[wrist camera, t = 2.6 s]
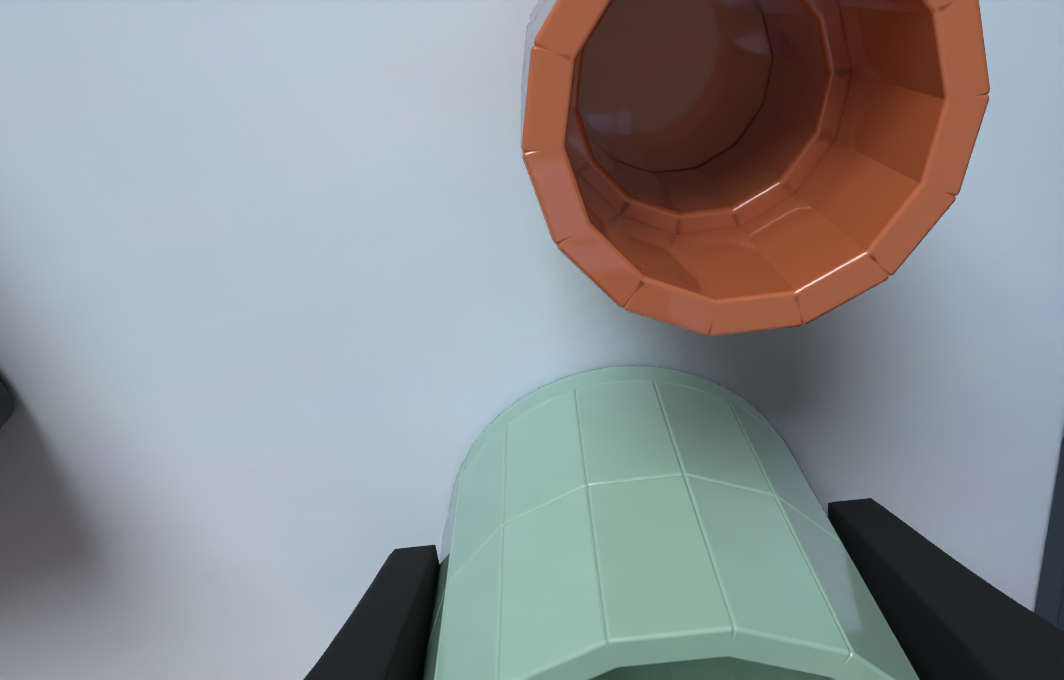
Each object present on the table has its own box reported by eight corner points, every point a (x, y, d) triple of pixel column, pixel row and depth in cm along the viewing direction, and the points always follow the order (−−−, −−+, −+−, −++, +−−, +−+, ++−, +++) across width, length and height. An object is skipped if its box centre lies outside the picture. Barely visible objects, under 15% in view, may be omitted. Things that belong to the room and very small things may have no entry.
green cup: (797, 635, 14) (945, 987, 9) (477, 668, 15) (453, 1029, 10) (801, 342, 12) (999, 601, 7) (421, 387, 12) (352, 666, 7)
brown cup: (804, 187, 11) (969, 308, 7) (538, 219, 11) (547, 358, 7) (808, -111, 10) (1020, -175, 6) (502, -70, 10) (489, -102, 6)
